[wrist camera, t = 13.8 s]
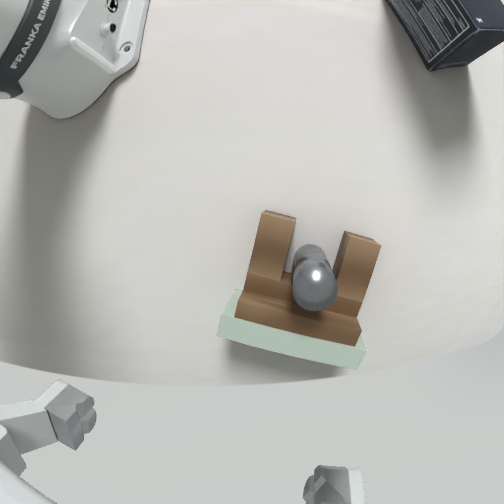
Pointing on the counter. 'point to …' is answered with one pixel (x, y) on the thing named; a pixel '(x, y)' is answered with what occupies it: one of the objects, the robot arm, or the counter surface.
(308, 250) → the dowel
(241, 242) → the counter surface
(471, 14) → the small box
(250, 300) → the block
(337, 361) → the wall
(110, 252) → the counter surface
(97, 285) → the counter surface
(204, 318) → the counter surface
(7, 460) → the robot arm
